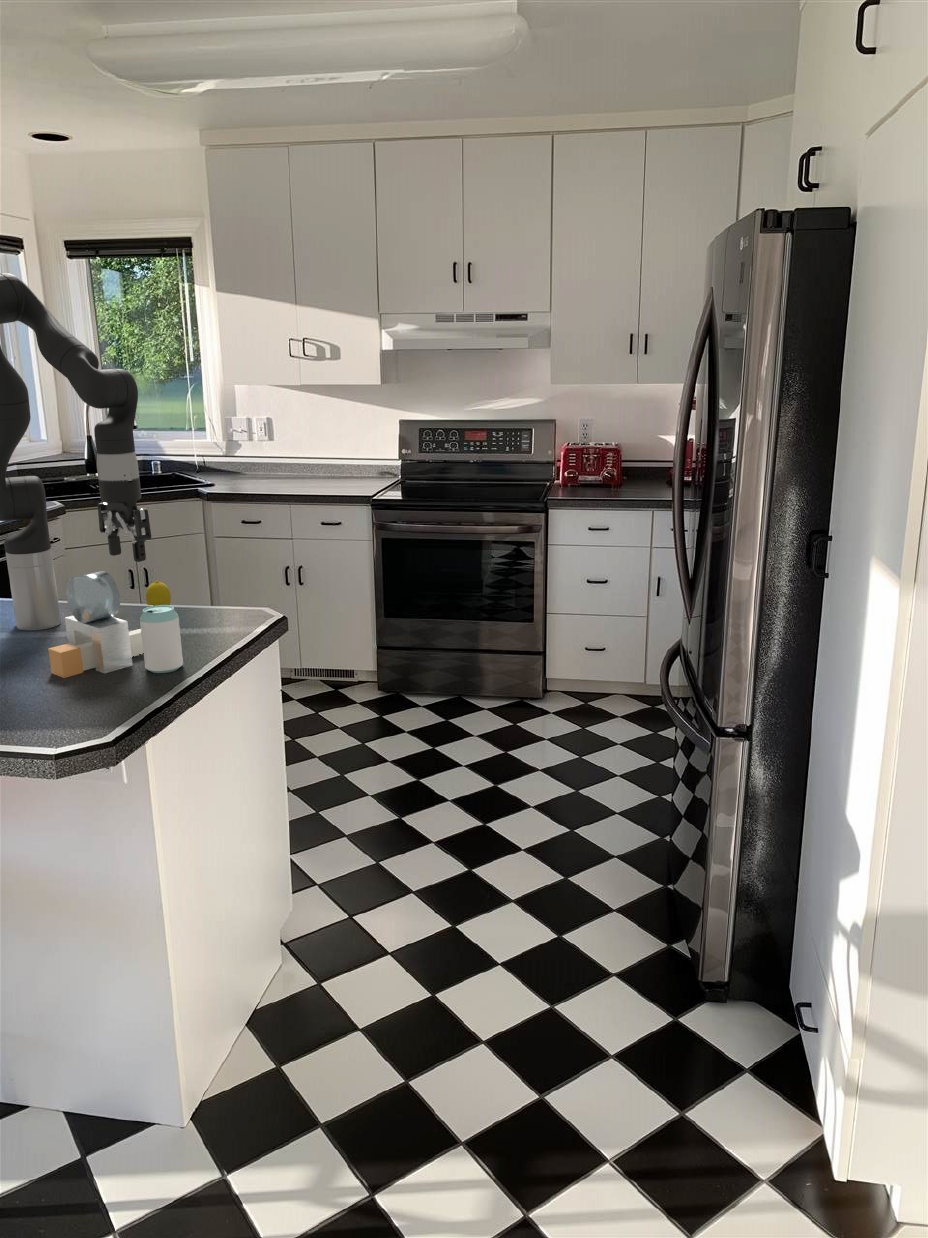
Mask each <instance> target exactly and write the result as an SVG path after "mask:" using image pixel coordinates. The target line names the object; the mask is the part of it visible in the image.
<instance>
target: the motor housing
mask: <svg viewBox="0 0 928 1238" xmlns="http://www.w3.org/2000/svg"><path fill="white" fill-rule="evenodd" d="M65 596H66V602H67V605H68V608H69V611H70V612H71V615H70V616H66V617H64V623H65V629H66V637H67V644H71V645H74V646H76V645H80V644H84V643H88V642H91V641H92V642H93V649H94V657H95V665H96V667H95V671H96V672H98V673H99V672H100V673H102V674H108V673H111V672H115V671H118V670H121V669H125V668H129V667H132V666H133V658H132V656H131V648H130V639H129V632H130V631H129V623H128V620H124V619H121V618H118V617H115V616H116V615H118V612H119V611H120V608H121V596H120V591H119V588H118V585H117V583H116V581H115V579H114V578H113V577H112V575H111V574H109V572H107V571H102V570H101V571H97V572H92V573H87V574H81V575H77V576H72V577H70V578H69V580H68V581H67V582H66V587H65Z"/></svg>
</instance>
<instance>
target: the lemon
mask: <svg viewBox="0 0 928 1238" xmlns="http://www.w3.org/2000/svg"><path fill="white" fill-rule="evenodd" d="M145 601H146V604H147V607H151V606H148V605H153V606H157V605H169V606H171V604H172V603H171V602H172V595H171V591H170V589H169V587H168V586H167V585H166V584H165V583H163V582H161V581H159V580H155V581H154V582H151V584H149V585H148V586H147V588H146V592H145Z"/></svg>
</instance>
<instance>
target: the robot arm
mask: <svg viewBox="0 0 928 1238" xmlns="http://www.w3.org/2000/svg"><path fill="white" fill-rule="evenodd" d="M14 322H20V323H22V324H24V325H26V326H27V327H28V328H30V329H31V330H32V331H33V332H34V335H35V338H36V343H37V347H38V349H39V353H40V354H41V355H42V357H43V358H44V360H45V361H46V362H47V363H48V364H50V365H51V366H52V367H53V369H55V370H56V371H57V372H59V373H60V374H61V375H62V376H64V377H65V378H66V379H67V380H68V382H69V383H70V385H71V387H72V388H73V389H74V391H75V393H76V394H77V395H78V397H79V399H81V401H82V402H83V403H85V404H86V405H88V406H90V407H92V408H95V409H100V410H101V409H102V410H103V409H108V412H107V417H106V418H105V419H104V420H101V421H100V422H99V421H98V422H97V423H96V424H95V426H94V428H93V429H94V442H95V451H96V470H97V481H98V489H99V495H100V496H99V497H100V500H101V502H100V503H97V516H98V526H99V527H98V528H99V532H100V533H101V534H103V533H104V536H105V537H106V538H107V541H108V542H107V543H108V544H107V545H108V550H109V555H110V556H119V555H122V547H121V546H122V545H121V537H120V533H121V530H124V532H125V534H126V535H129V538H130V540H131V542H132V545H131V547H132V554H133V561H134V562H137V563H139V562H144V561H146V559H147V557H146V555H147V554H146V546H145V544H146V543H145V542H147V540H151V539H152V532H151V524H150V517H149V516H150V515H149V511H148V509H147V508H138V506H137V505H138V504H137V501H139V500H140V499H142V490H141V481H140V480H141V479H140V472H139V463H138V458H137V454H136V446H135V435H134V425H135V420H136V414H137V408H138V399H139V390H138V389H139V388H138V385H137V381H136V380H135V378H134V376H133V375H132V374H131V373H130V372H129V371H127V370H126V369H123V368H112V369H109V368H107V369H99V367H100V362H99V358H98V357H97V355H96V354H95V353H94V352H93V350H92V349H90V348H89V347H88V346H86V345H85V344H84V343H83V342H81V341H80V340H79V339H78V338H77V337H75V335H73V334H71V333H70V332H69V331H68V330H67V329H66V328H65V327H64V326H63V325H62V324H61V323H60V322H59V321H58V320H57V318H56V317H55V316H54V315H53V314H52V312H50V310H49V309H48V308H47V306H45V305H44V303H43V302H42V301H41V300H40V299H39V298H38V296H37V295H36V294H35V293H34V292H33V291H32V290H31V288H30V287H29V285H27V284H26V283H25V282H24V281H23V280H22V279H20V278H19V277H18V276H17V275H15V274H12V273H8V272H0V325H2V324H8V323H14ZM30 408H31V407H30V397H29V390H28V387H27V385H26V383H25V381H24V379H23V377H22V376H21V375H20V374H19V373H18V371H17V370H16V368H15V367H14V366H13V364H11V363H10V361H9V360H8V359H7V357H6V355H5V353H4V352H3V349H2V346H1V345H0V522H14V521H21V520H23V521H24V520H30V523H29V524H28V525H27V526H26V527H25V528H24V529H22V530H20V531H18V532H16V533H14V534H12V535H9V536H7V538H5V539H4V542H3V545H4V550H5V551H4V552H5V558H6V563H7V564H6V565H7V571H8V572H7V573H8V577H9V585H10V592H11V598H12V600H11V601H12V605H13V612H14V618H15V624H16V628H17V629H18V630H21V631H40V630H46V629H50V628H54V627H57V626H58V625H60V624H61V623H62V618H61V612H60V604H59V597H58V590H57V589H58V588H57V583H56V582H57V581H56V573H55V567H54V559H53V551H52V546H51V545H52V544H51V538H50V530H49V522H48V511H47V509H48V508H47V499H46V490H45V485H44V483H43V481H42V479H41V478H40V477H39V476H36V475H23V476H13V477H6V476H7V470H8V466H9V463H10V460H11V458H12V456H13V453H14V451H15V450H16V448H17V446H18V445H19V443H20V442H21V440H22V439H23V437H24V436H25V434H26V432H27V430H28V429H29V425H30V423H31V409H30ZM105 521H106V522H105ZM143 529H144V530H143Z"/></svg>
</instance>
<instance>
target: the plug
mask: <svg viewBox="0 0 928 1238" xmlns="http://www.w3.org/2000/svg"><path fill="white" fill-rule="evenodd" d="M129 639H130V648H131V656H132V657H133V656H134V657H136V656H140V655H139V654H141V655H144V654H143V644H142V635H141V628H138V629H134V630H131V631H129ZM47 649H48V650H47V651H48V655H49V664H50V671H51V674H53V675H55V676H58V677H61V678H62V679H65V678H70V677H71V676H72V677H73V676H77V675H80V674H83V673H84V671H88V670H91V669H94V668H95V669H96V665H95V657H94V649H93V642H92V641H91V642H88V643H84V644H80V645H76V646H74V645H71V644H68V643H64V644H61V645H57V646H53V647H49V648H47Z"/></svg>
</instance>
